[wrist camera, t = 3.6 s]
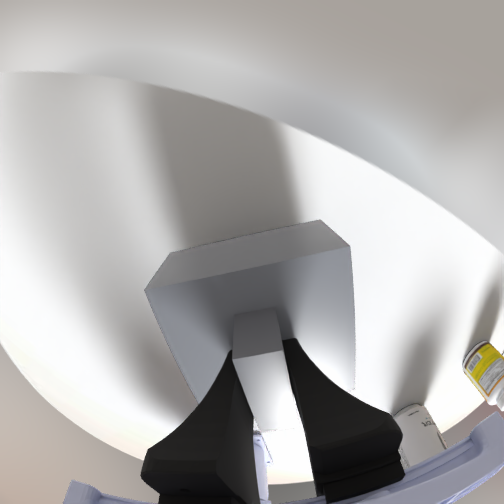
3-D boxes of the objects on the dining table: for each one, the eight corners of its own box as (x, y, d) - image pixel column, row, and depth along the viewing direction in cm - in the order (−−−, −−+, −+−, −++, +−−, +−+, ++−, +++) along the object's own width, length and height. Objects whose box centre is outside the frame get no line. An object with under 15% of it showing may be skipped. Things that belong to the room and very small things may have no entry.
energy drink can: (427, 408, 30) (467, 480, 16) (395, 431, 31) (426, 506, 17) (417, 395, 28) (462, 478, 14) (381, 421, 29) (415, 506, 15)
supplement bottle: (484, 359, 27) (519, 400, 18) (458, 376, 28) (491, 423, 18) (491, 332, 26) (532, 374, 16) (464, 350, 26) (505, 399, 17)
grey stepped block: (334, 341, 19) (370, 426, 11) (212, 365, 19) (201, 456, 12) (320, 219, 16) (380, 275, 8) (170, 252, 16) (119, 327, 9)
